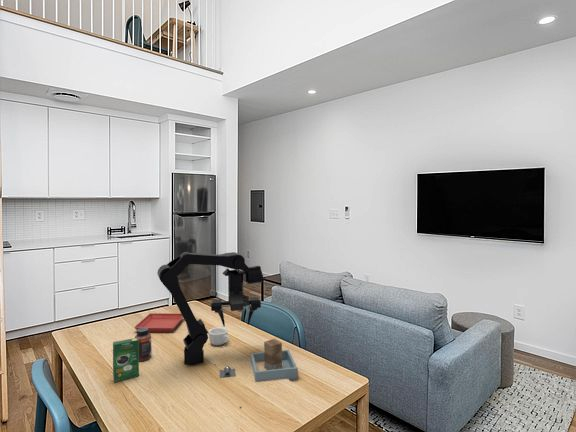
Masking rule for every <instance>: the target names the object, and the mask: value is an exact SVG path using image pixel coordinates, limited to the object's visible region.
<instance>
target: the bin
mask: <svg viewBox="0 0 576 432" xmlns="http://www.w3.org/2000/svg"><path fill="white" fill-rule="evenodd" d="M257 362H264V351H261V352H250V363H251V364H250V365H251V367H252V368H251V369H252V372H253V377H254V382H262V381H272V380H280V379H288V380H289V381H297V380H298V371H299V370H298V366H297V364H296V362H295V359H294V358H293V356H292V354H291V350H289V349H282V369H273V370H266V369H265V370H264V369H263V370H258V369H257V365H256V363H257Z"/></svg>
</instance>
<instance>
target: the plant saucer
mask: <svg viewBox="0 0 576 432" xmlns="http://www.w3.org/2000/svg"><path fill="white" fill-rule="evenodd" d="M182 320H184V318H183V316H182V314H181V313H168V312H166V313H161V312H160V313H158V312H156V313H152V312H151V313H148V315H146V316H144V318H143V319H142V320H140V321H139V322H138V323H137V324H136V325H135V326H134V329H135V330H136V331H137V330H138V329H140V328H148V333H172V332H173V331H174V330H175V328H176V327H177V326H178V325H179V323H181V321H182Z"/></svg>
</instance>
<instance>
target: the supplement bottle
mask: <svg viewBox="0 0 576 432" xmlns="http://www.w3.org/2000/svg"><path fill="white" fill-rule="evenodd" d="M134 338H137V339H138V340H139V362H145V361H148V360H149V359H151V358H152V356H153V355H152V351H153V350H152V335H151V332H148V328H140V329H138V330H136V335H134Z"/></svg>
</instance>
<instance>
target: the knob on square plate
mask: <svg viewBox="0 0 576 432" xmlns="http://www.w3.org/2000/svg"><path fill="white" fill-rule="evenodd" d="M236 373H237V372H236V369H235V368H231V366H229V365H227V366H225V367H224V368H223V369H219V379H224V378H225V379H227V378H235V377H236V375H237V374H236Z"/></svg>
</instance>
